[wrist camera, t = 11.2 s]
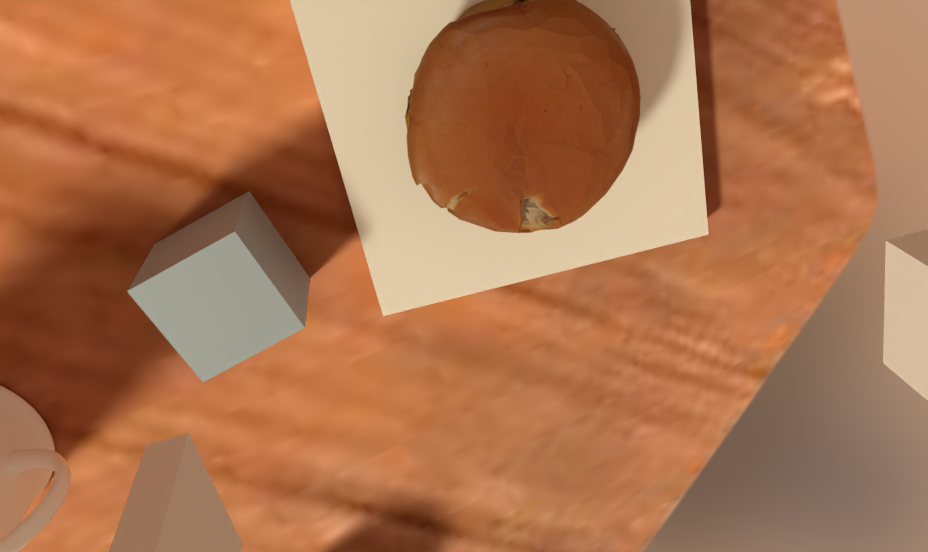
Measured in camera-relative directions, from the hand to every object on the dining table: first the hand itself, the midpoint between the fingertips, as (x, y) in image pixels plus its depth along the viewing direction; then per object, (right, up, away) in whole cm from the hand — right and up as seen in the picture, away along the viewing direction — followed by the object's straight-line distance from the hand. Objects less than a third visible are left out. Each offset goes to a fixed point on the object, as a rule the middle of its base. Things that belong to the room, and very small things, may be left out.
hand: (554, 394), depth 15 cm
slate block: (-12, +3, +22) cm, 25 cm away
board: (0, +10, +20) cm, 23 cm away
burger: (0, +9, +19) cm, 22 cm away
